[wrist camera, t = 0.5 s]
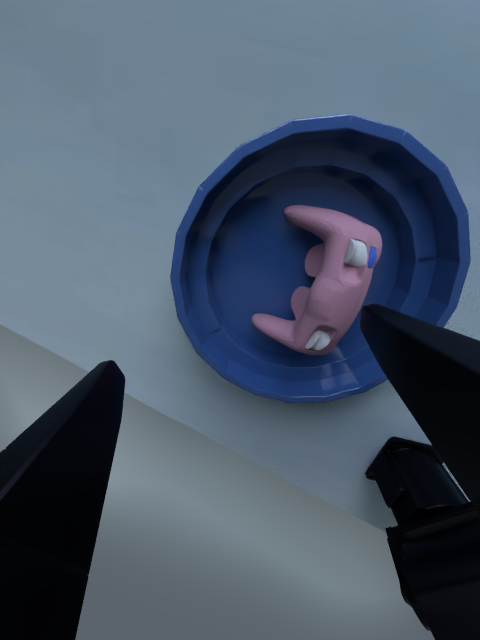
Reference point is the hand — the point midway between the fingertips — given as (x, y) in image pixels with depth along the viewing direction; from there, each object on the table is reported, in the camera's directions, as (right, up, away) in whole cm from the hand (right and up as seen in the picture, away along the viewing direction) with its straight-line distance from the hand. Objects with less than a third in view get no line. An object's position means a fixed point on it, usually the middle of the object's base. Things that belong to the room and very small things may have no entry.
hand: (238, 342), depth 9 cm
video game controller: (+5, +4, +11) cm, 13 cm away
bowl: (+5, +4, +11) cm, 13 cm away
